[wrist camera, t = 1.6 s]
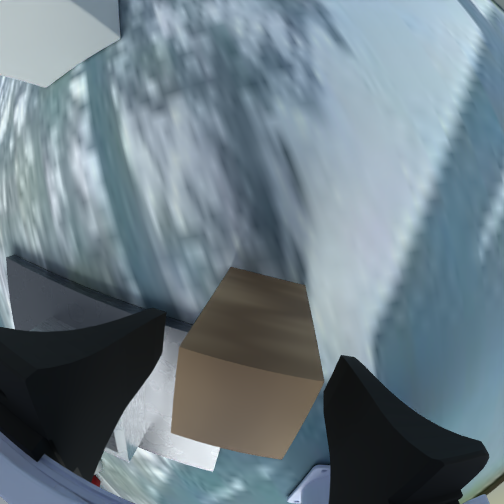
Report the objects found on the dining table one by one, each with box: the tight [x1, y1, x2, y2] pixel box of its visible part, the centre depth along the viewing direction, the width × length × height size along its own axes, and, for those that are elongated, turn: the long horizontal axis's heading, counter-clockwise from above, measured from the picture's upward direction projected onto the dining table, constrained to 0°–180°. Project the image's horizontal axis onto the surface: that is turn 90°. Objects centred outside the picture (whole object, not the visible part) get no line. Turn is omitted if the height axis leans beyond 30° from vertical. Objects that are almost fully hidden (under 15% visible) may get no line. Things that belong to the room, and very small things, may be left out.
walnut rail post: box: [171, 267, 324, 460], centre depth 11 cm, size 4×4×8 cm
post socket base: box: [6, 255, 220, 472], centre depth 16 cm, size 20×14×4 cm
